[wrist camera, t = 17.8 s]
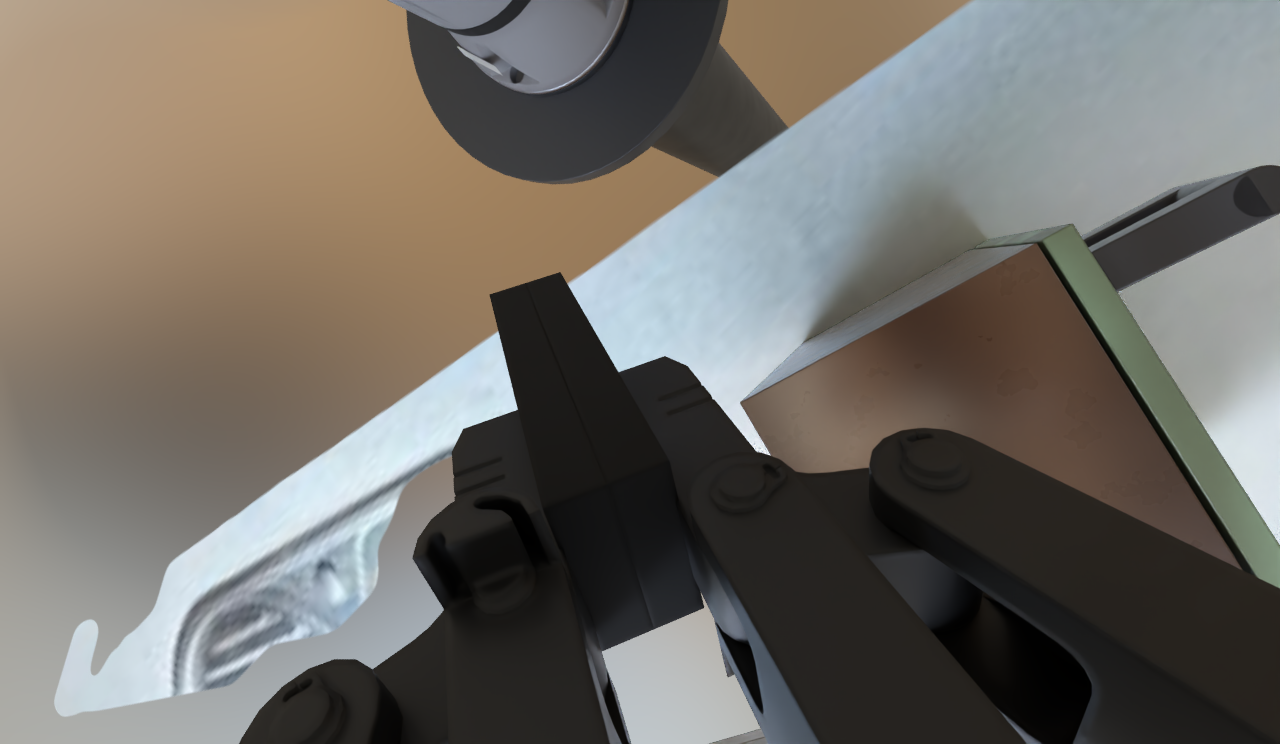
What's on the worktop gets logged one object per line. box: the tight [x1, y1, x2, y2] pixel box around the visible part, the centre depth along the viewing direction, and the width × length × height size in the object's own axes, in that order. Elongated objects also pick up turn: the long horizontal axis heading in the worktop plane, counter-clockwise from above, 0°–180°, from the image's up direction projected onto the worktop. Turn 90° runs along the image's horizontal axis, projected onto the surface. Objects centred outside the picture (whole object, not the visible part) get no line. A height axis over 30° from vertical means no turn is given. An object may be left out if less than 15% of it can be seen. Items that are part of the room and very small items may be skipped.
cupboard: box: [740, 243, 1243, 570], centre depth 31 cm, size 12×17×19 cm
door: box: [975, 165, 1280, 588], centre depth 27 cm, size 6×17×19 cm, turn 33°
